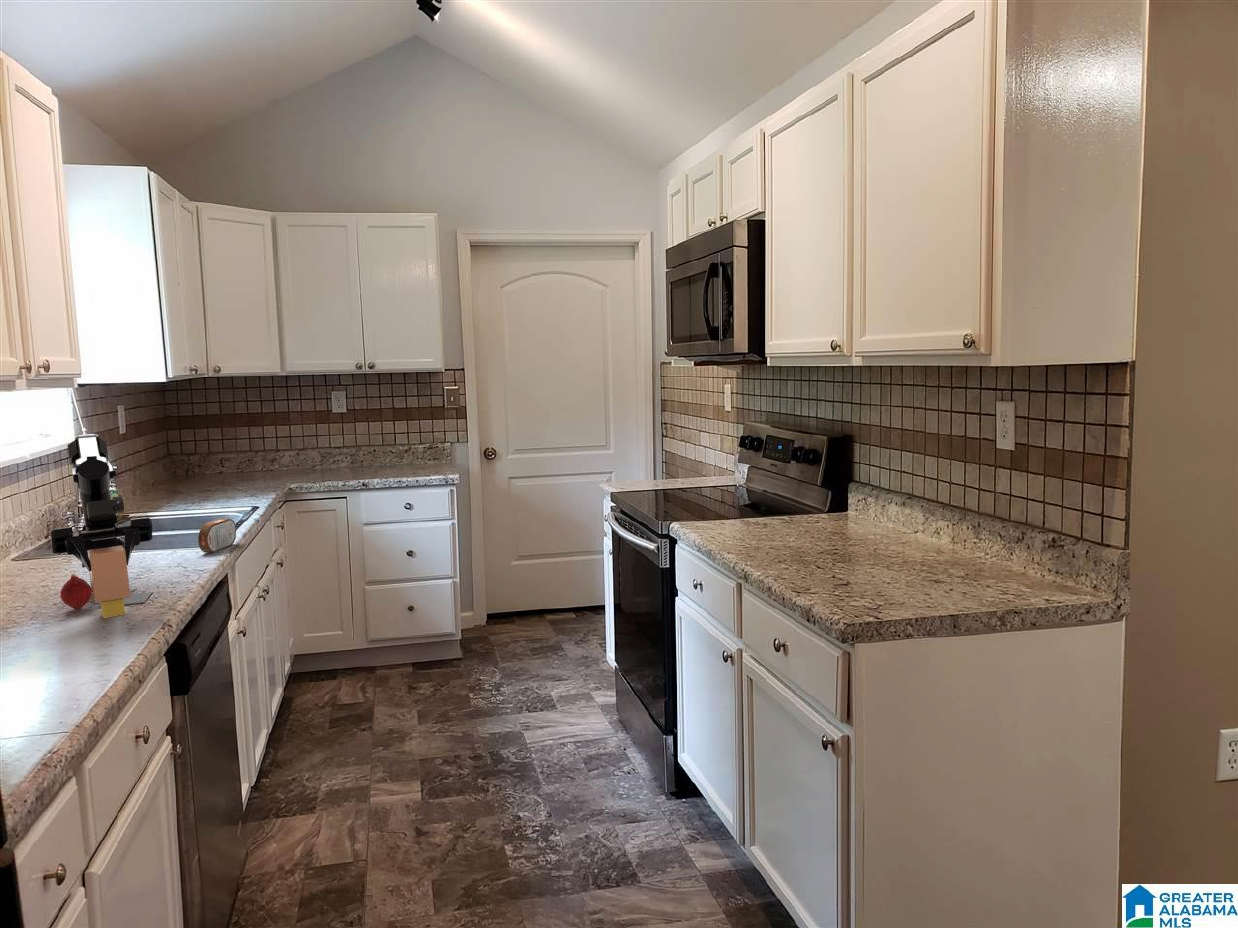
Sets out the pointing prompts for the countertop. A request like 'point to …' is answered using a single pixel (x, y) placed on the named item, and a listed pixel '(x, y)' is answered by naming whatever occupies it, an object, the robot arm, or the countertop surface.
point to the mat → (136, 598)
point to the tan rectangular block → (109, 573)
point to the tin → (217, 535)
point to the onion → (76, 592)
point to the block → (113, 607)
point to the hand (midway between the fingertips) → (108, 567)
